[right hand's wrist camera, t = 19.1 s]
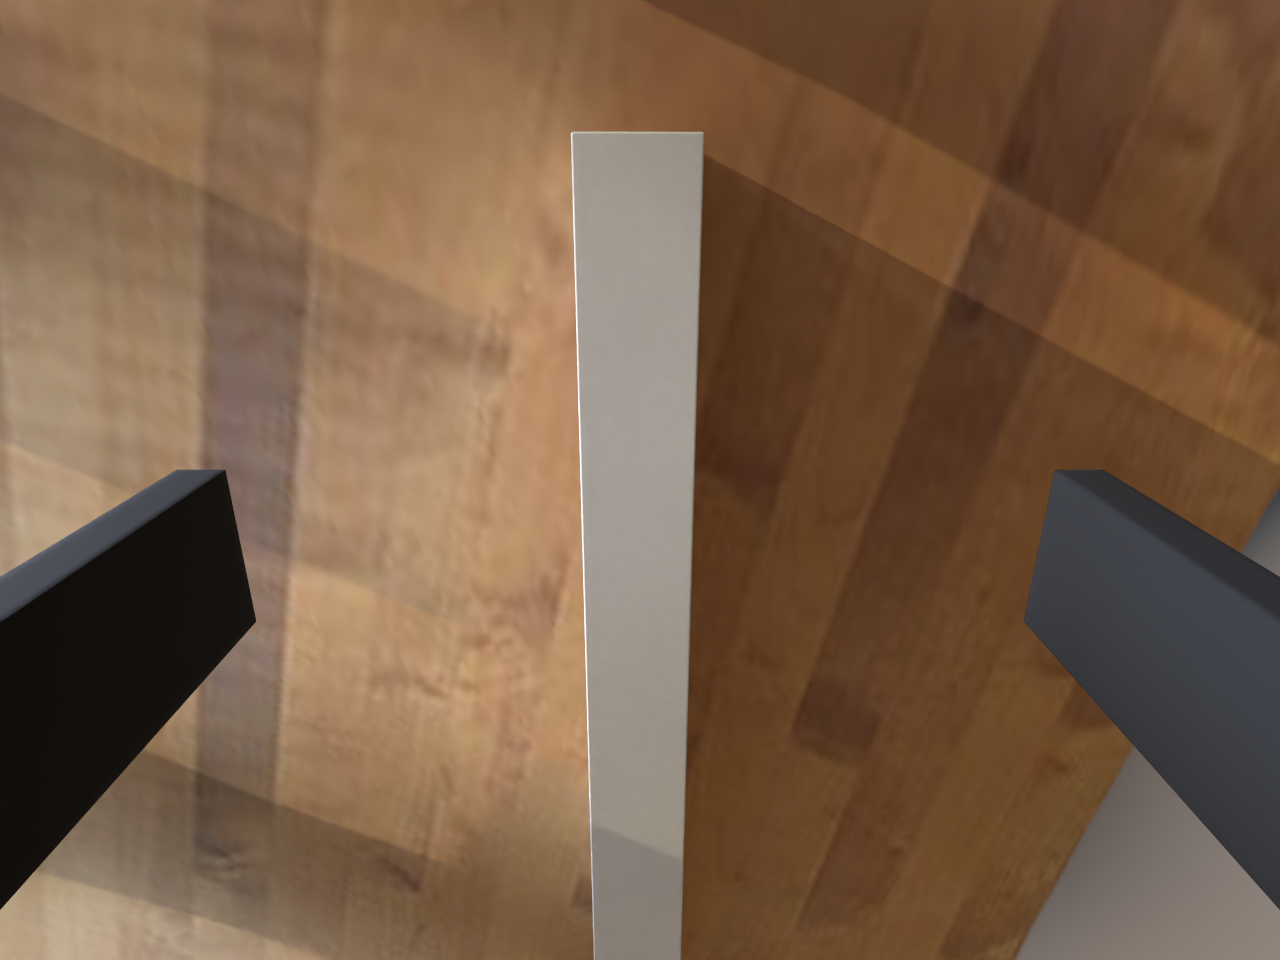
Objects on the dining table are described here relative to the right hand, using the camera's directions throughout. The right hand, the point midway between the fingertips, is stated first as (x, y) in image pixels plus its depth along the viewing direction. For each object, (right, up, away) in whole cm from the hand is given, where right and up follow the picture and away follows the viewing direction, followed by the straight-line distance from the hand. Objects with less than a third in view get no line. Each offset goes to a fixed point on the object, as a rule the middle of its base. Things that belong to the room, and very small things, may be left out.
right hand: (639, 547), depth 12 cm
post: (0, -11, +32) cm, 34 cm away
